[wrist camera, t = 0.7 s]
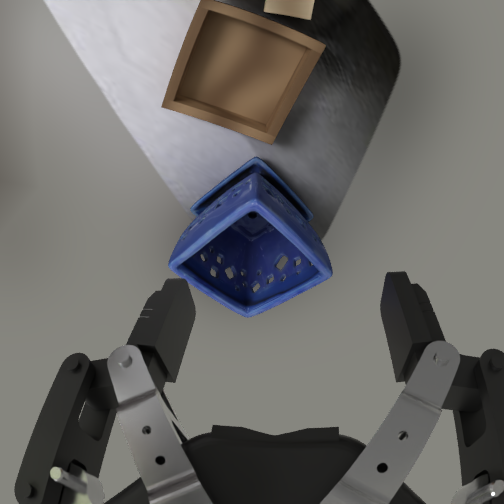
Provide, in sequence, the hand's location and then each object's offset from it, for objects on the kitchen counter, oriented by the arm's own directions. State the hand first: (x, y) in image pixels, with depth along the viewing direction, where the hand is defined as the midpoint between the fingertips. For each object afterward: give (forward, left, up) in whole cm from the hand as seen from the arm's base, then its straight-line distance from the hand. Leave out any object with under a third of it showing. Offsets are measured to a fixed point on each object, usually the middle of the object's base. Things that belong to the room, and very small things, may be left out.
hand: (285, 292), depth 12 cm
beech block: (-3, +11, -25) cm, 28 cm away
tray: (-4, +2, -25) cm, 25 cm away
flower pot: (+4, -14, -25) cm, 29 cm away
